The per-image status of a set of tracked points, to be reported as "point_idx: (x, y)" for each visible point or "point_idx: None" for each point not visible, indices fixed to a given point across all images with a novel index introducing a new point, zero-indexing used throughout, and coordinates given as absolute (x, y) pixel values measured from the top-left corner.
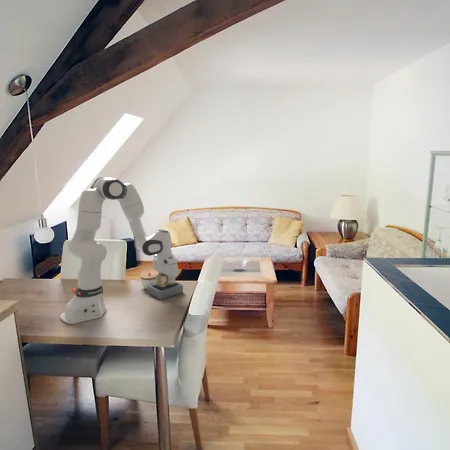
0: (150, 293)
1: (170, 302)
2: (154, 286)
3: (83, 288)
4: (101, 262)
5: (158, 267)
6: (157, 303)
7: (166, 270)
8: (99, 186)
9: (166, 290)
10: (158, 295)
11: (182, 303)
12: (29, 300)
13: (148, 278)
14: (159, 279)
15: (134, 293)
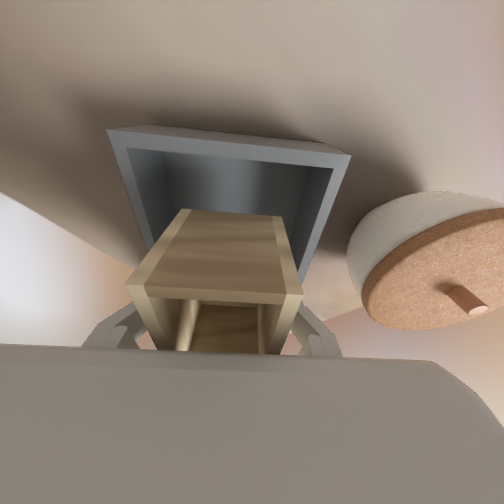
0: (298, 141)
1: (69, 143)
2: (311, 211)
3: None
4: None
5: (336, 464)
6: (88, 31)
7: (33, 462)
8: None
9: (135, 203)
10: (173, 129)
11: (22, 187)
12: None
13: (427, 242)
14: (213, 254)
15: (464, 55)
